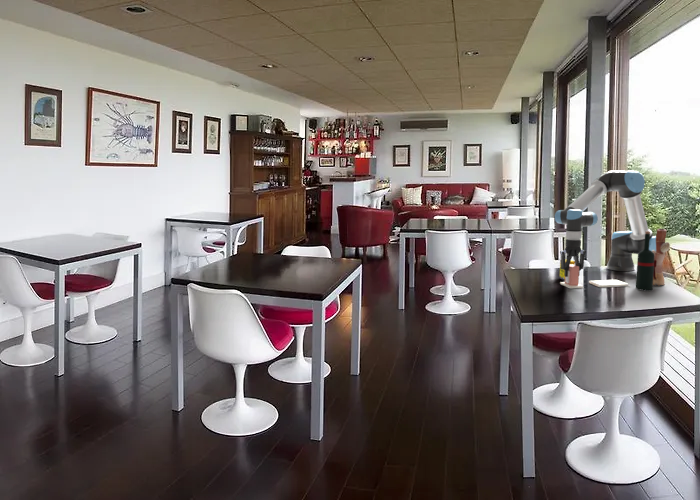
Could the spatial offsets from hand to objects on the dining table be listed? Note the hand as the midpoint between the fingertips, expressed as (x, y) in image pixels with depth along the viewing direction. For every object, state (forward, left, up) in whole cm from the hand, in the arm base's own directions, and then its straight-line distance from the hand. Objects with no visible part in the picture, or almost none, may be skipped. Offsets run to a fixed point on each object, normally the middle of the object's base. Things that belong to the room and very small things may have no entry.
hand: (571, 282), depth 308 cm
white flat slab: (-21, 0, -2) cm, 21 cm away
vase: (-46, +5, -2) cm, 46 cm away
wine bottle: (-34, +13, -2) cm, 37 cm away
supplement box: (-6, -17, -2) cm, 18 cm away
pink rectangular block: (0, 0, -2) cm, 2 cm away
